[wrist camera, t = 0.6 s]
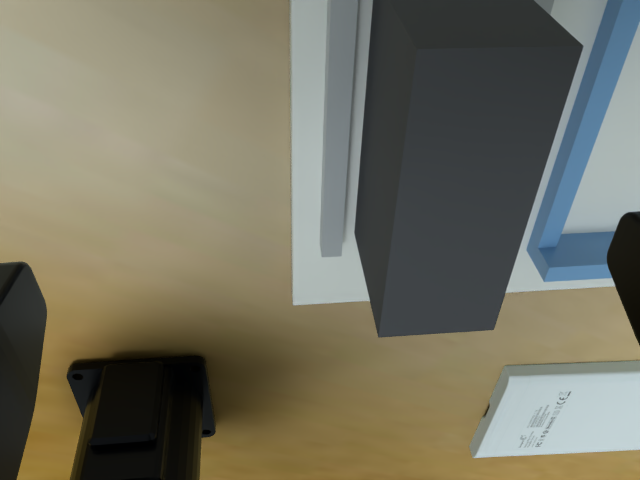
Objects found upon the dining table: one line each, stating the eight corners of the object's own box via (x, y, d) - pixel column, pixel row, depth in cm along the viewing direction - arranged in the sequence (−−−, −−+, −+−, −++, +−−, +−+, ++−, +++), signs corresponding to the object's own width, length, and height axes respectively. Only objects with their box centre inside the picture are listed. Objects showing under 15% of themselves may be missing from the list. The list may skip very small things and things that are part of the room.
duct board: (664, 271, 29) (697, 313, 27) (291, 292, 27) (296, 340, 25) (909, -183, 17) (1002, -171, 15) (287, -196, 16) (296, -184, 14)
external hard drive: (645, 429, 40) (466, 439, 38) (705, 349, 35) (500, 357, 33) (657, 451, 39) (473, 463, 37) (722, 372, 34) (511, 381, 32)
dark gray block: (450, 228, 25) (493, 329, 21) (354, 233, 24) (378, 337, 20) (504, -27, 18) (583, 45, 14) (375, -26, 18) (416, 48, 14)
